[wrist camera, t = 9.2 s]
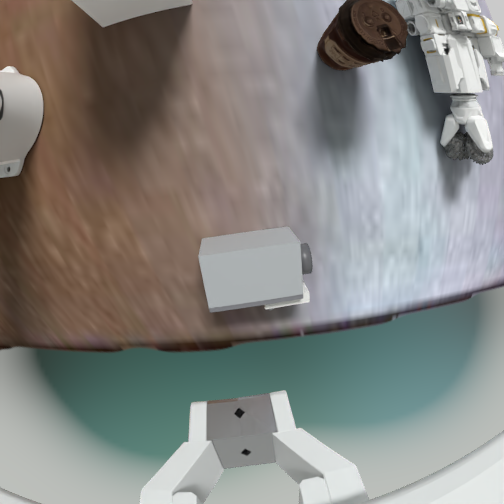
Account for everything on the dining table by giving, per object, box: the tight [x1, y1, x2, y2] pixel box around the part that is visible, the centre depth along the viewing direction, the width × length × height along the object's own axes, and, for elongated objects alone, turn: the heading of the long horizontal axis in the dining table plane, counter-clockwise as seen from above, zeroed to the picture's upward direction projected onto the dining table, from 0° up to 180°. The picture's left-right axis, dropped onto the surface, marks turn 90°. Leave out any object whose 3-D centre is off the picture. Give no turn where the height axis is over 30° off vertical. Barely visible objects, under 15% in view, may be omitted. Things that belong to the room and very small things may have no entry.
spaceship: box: [395, 0, 504, 165], centre depth 29 cm, size 16×35×12 cm, turn 18°
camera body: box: [198, 226, 312, 313], centre depth 40 cm, size 14×8×7 cm, turn 97°
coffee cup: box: [317, 0, 408, 70], centre depth 28 cm, size 9×8×13 cm
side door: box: [264, 282, 309, 310], centre depth 42 cm, size 6×2×5 cm, turn 97°
